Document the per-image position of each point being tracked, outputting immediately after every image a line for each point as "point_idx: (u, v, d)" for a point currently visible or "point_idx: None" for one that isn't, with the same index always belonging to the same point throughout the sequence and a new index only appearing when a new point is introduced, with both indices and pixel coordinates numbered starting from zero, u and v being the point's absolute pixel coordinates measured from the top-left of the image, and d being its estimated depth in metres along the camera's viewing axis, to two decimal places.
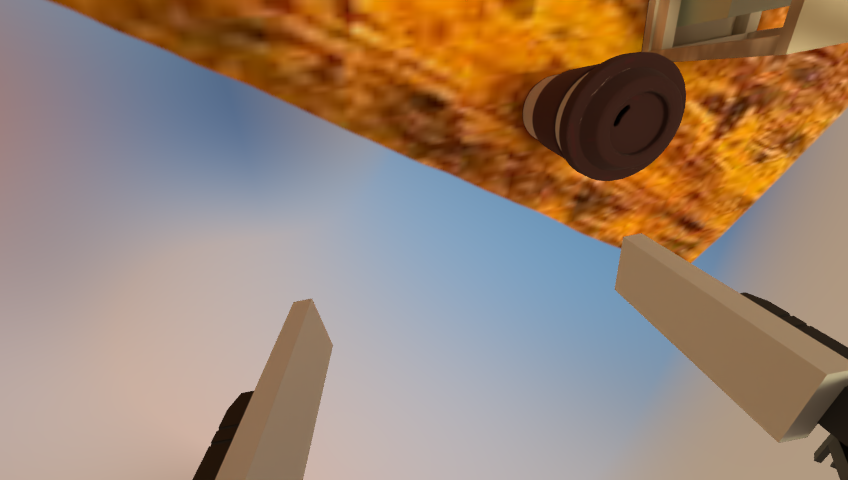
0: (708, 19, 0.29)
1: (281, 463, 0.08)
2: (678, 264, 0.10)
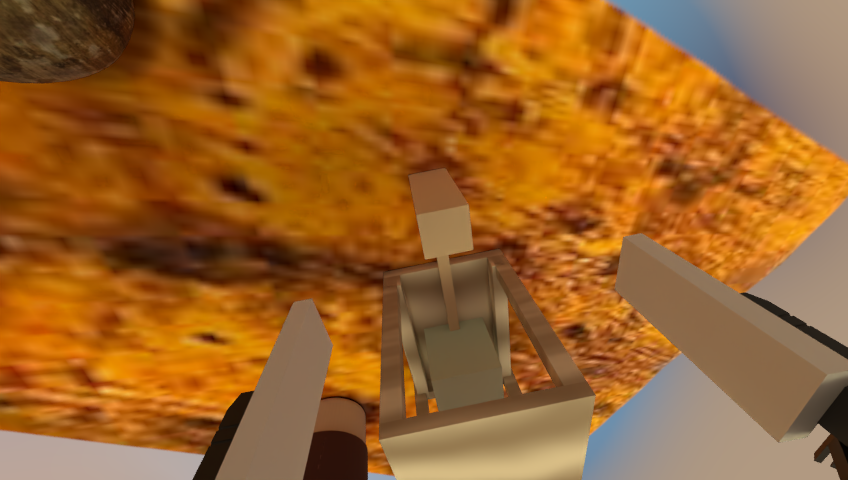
0: None
1: (281, 463, 0.08)
2: (678, 264, 0.10)
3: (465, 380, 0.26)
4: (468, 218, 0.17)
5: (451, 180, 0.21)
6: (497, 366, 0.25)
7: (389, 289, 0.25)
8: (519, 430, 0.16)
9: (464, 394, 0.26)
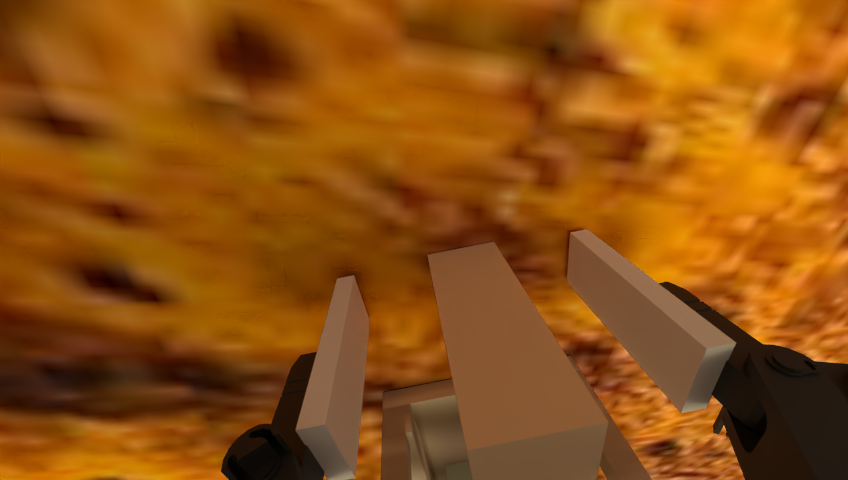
0: None
1: (346, 411, 0.09)
2: (611, 256, 0.11)
3: None
4: (599, 444, 0.07)
5: (519, 288, 0.10)
6: None
7: (392, 442, 0.15)
8: None
9: None
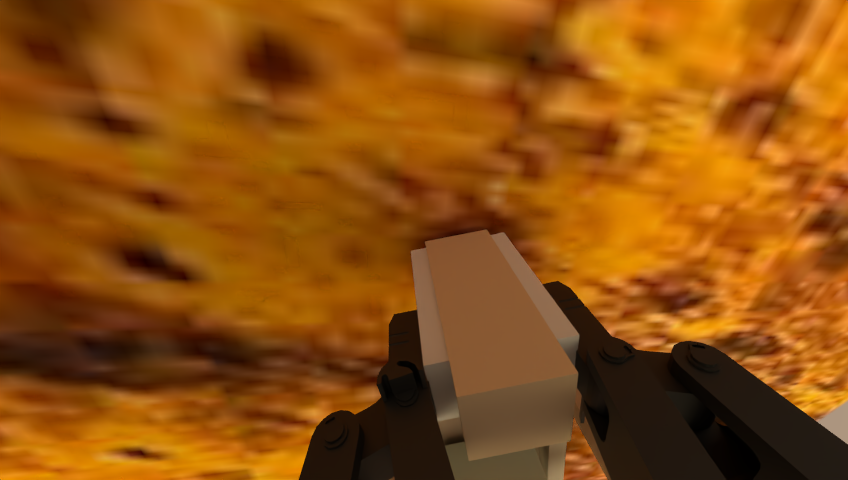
0: None
1: None
2: (512, 258, 0.12)
3: None
4: (572, 395, 0.08)
5: (508, 268, 0.11)
6: None
7: None
8: None
9: None
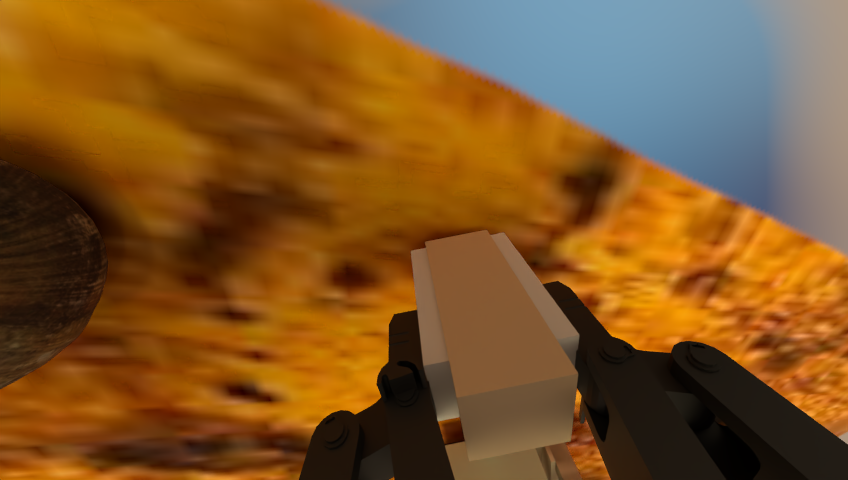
0: None
1: None
2: (512, 258, 0.12)
3: None
4: (572, 395, 0.08)
5: (508, 269, 0.11)
6: None
7: None
8: None
9: None
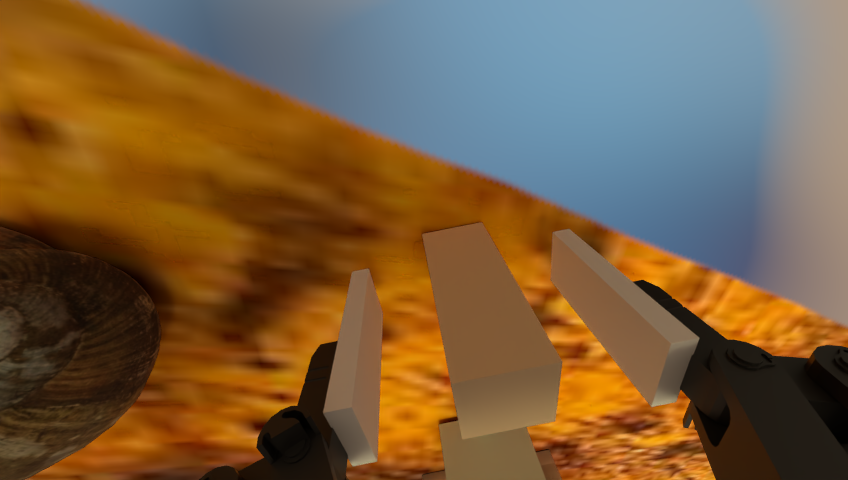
0: None
1: (367, 397, 0.09)
2: (589, 255, 0.12)
3: None
4: (556, 381, 0.08)
5: (501, 261, 0.12)
6: None
7: None
8: None
9: None
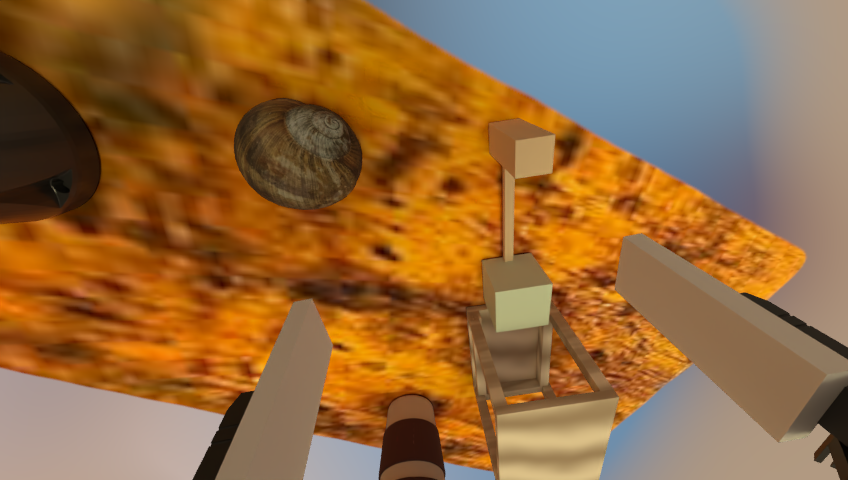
0: (491, 319, 0.36)
1: (281, 463, 0.08)
2: (678, 264, 0.10)
3: (522, 294, 0.32)
4: (553, 146, 0.23)
5: (530, 124, 0.27)
6: (548, 283, 0.32)
7: (474, 321, 0.38)
8: (573, 415, 0.28)
9: (519, 307, 0.33)
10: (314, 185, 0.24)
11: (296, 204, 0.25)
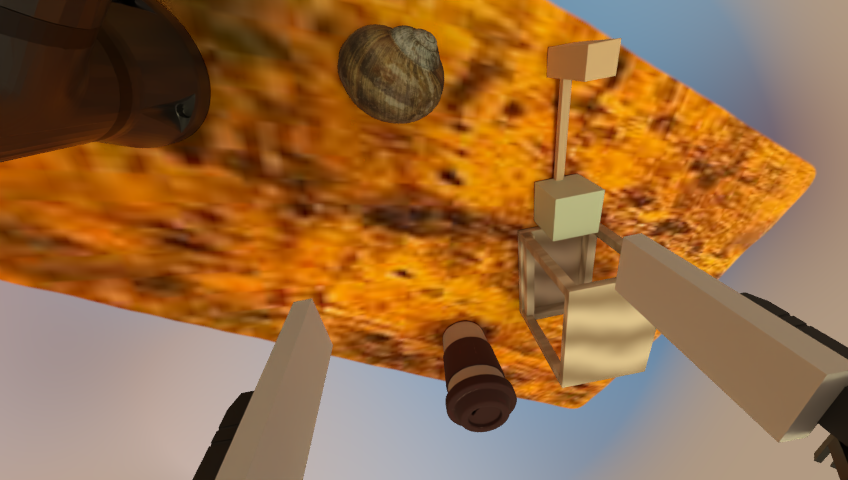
0: (546, 233, 0.41)
1: (281, 463, 0.08)
2: (678, 264, 0.10)
3: (578, 200, 0.36)
4: (618, 49, 0.28)
5: (590, 41, 0.31)
6: (601, 190, 0.36)
7: (528, 238, 0.42)
8: None
9: (574, 214, 0.37)
10: (415, 92, 0.28)
11: (396, 113, 0.30)
